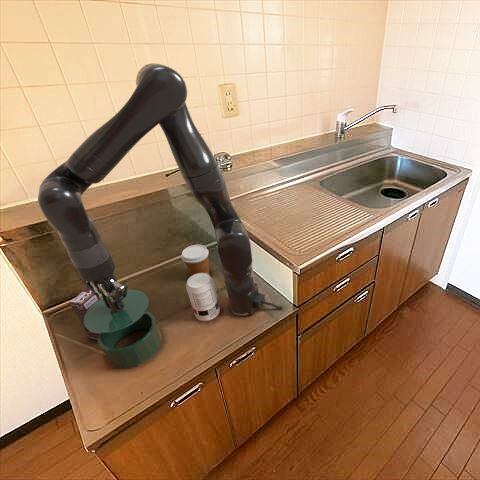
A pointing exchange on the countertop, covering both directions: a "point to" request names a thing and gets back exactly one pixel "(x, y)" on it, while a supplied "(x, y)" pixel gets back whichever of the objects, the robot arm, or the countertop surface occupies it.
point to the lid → (116, 313)
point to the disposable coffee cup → (196, 259)
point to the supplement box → (85, 307)
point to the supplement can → (203, 296)
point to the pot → (138, 350)
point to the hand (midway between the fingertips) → (116, 307)
